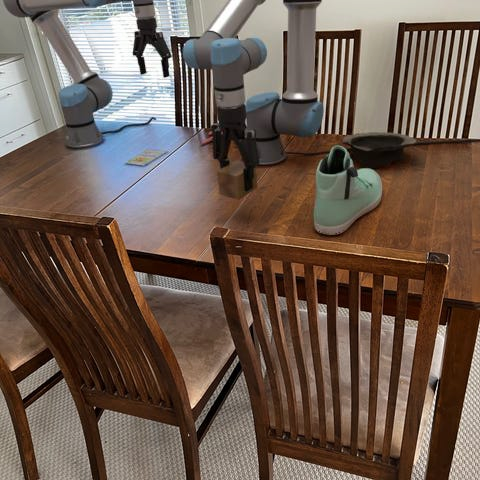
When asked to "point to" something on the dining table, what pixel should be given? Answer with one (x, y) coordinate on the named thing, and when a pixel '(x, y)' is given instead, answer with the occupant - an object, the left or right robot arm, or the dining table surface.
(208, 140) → the candy cane
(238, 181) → the block
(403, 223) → the dining table surface
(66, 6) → the left robot arm
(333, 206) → the sneaker
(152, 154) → the baking ingredient package
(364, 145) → the black hat
